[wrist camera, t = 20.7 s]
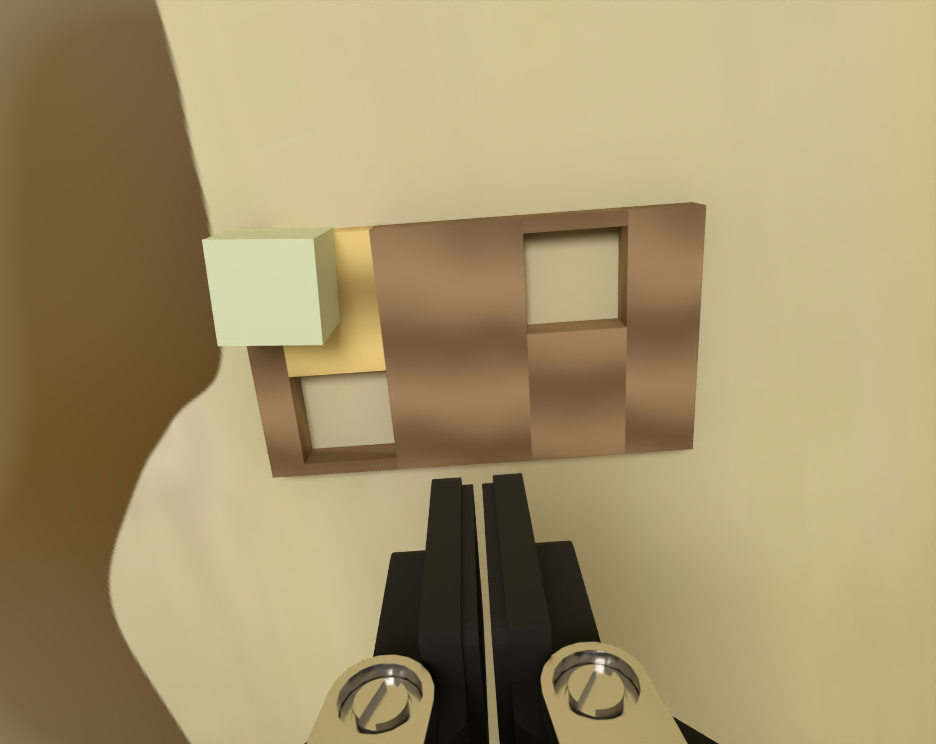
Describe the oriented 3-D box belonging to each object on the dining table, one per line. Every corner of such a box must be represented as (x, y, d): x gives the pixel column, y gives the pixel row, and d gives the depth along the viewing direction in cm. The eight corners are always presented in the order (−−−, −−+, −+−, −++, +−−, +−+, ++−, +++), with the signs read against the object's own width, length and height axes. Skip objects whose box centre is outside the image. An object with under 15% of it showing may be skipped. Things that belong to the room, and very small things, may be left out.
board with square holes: (681, 434, 38) (692, 449, 37) (282, 461, 39) (272, 477, 37) (692, 202, 34) (706, 204, 32) (238, 235, 34) (225, 240, 32)
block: (340, 321, 34) (322, 344, 30) (248, 321, 34) (217, 346, 29) (332, 227, 32) (313, 238, 28) (236, 228, 32) (201, 239, 28)
